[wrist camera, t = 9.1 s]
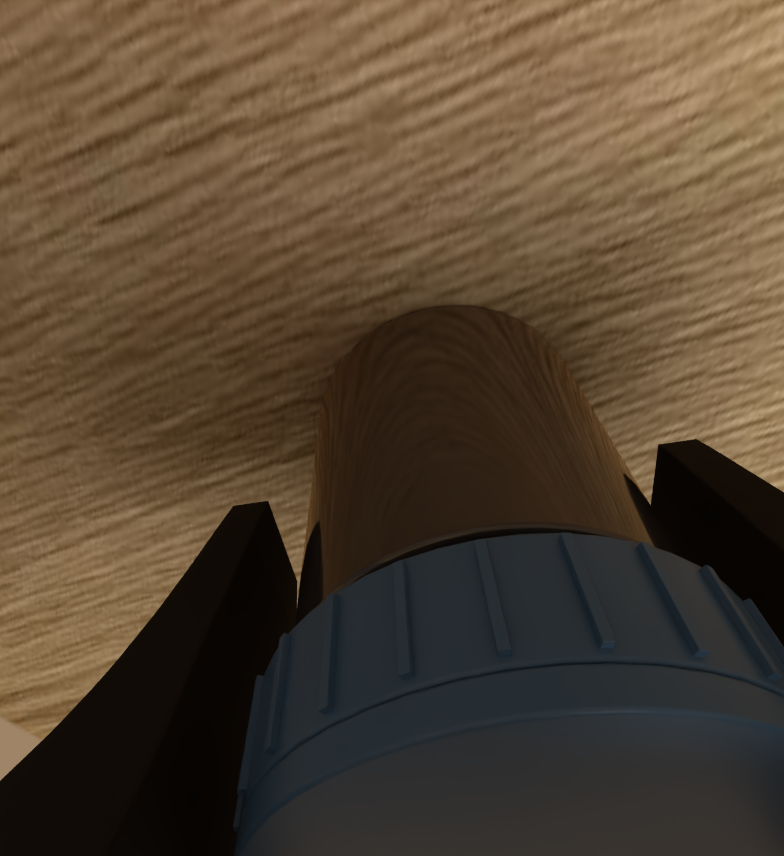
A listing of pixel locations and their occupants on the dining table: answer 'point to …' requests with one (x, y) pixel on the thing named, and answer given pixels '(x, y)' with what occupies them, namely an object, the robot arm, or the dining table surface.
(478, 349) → the jar
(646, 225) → the dining table surface
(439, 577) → the lid
